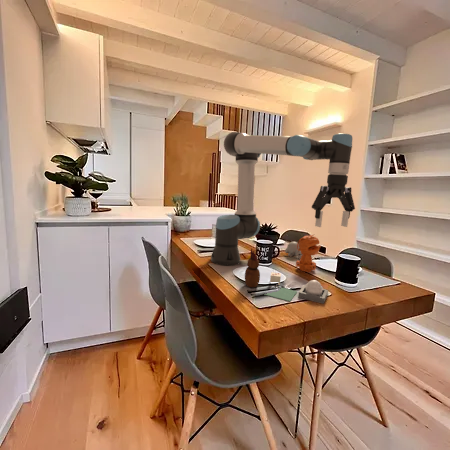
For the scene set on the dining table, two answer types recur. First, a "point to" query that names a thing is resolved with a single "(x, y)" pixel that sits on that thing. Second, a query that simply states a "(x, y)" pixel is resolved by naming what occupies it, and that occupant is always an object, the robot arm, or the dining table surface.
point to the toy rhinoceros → (293, 250)
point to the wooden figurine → (252, 271)
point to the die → (275, 277)
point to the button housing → (313, 297)
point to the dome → (314, 288)
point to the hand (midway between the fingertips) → (331, 226)
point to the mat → (283, 294)
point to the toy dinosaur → (307, 253)
